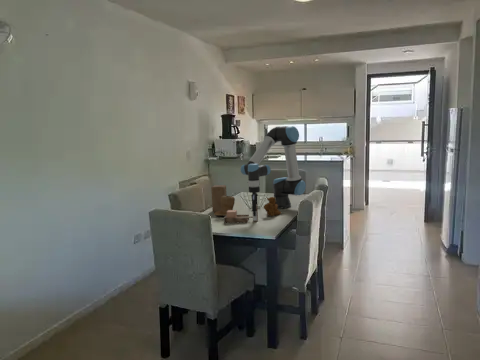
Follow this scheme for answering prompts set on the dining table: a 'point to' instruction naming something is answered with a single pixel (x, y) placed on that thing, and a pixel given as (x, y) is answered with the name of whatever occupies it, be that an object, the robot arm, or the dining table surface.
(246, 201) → the dining table surface
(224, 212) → the brown boot
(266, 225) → the dining table surface
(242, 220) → the walnut lane
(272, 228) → the dining table surface
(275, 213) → the stuffed squirrel
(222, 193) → the wooden block
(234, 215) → the corded block
